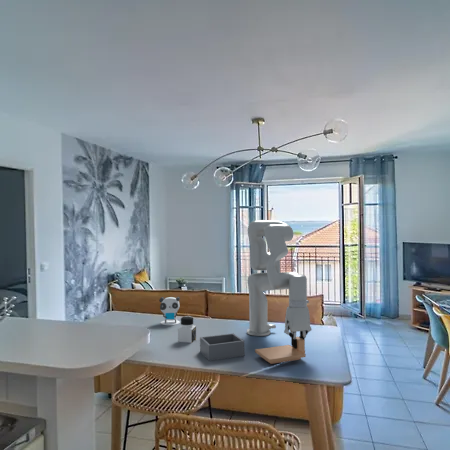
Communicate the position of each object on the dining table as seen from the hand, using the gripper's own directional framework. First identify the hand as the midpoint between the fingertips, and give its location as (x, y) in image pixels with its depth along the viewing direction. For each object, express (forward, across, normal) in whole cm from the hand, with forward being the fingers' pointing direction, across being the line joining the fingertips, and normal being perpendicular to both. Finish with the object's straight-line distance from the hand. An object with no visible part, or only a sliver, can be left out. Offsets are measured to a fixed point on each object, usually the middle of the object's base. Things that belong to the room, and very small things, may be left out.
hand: (298, 346), depth 149 cm
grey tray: (+5, +29, -15) cm, 33 cm away
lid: (+3, +8, 0) cm, 8 cm away
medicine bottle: (+5, +38, -39) cm, 55 cm away
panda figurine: (+5, +38, -77) cm, 86 cm away
